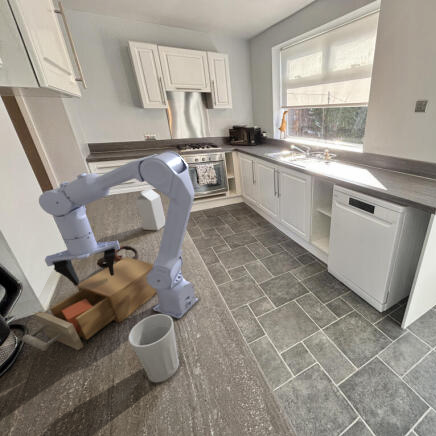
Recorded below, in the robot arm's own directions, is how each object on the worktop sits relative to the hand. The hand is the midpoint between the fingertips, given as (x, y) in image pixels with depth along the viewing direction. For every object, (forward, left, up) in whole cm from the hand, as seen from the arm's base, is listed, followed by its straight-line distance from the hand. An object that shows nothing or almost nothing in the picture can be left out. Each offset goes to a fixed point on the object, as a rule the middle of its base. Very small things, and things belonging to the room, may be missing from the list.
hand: (95, 278), depth 65 cm
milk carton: (+30, -44, -10) cm, 54 cm away
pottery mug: (+15, -16, -11) cm, 24 cm away
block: (-2, +7, -8) cm, 11 cm away
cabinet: (-2, -5, -10) cm, 12 cm away
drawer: (-2, +8, -10) cm, 12 cm away
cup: (-29, +8, -11) cm, 32 cm away
